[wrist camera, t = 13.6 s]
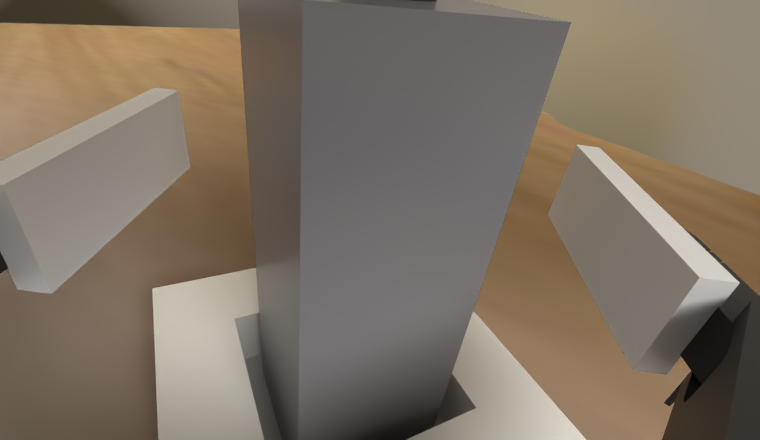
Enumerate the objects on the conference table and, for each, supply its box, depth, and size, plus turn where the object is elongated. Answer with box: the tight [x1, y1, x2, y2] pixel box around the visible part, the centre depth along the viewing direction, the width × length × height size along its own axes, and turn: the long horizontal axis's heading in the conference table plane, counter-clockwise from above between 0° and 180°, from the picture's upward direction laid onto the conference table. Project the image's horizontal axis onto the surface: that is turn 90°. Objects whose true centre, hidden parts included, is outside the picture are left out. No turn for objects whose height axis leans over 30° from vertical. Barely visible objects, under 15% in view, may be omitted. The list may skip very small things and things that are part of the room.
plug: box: [238, 0, 571, 440], centre depth 11 cm, size 5×5×17 cm
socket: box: [152, 268, 586, 440], centre depth 15 cm, size 12×12×4 cm
